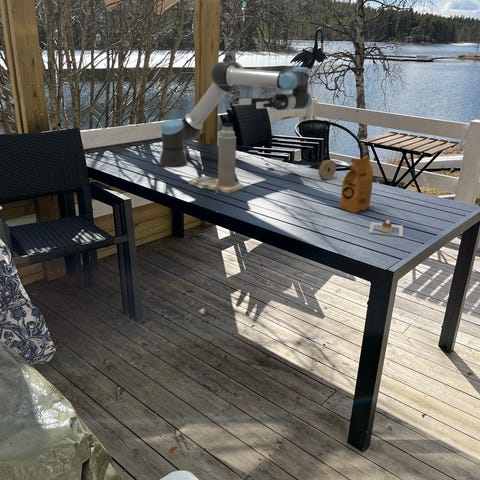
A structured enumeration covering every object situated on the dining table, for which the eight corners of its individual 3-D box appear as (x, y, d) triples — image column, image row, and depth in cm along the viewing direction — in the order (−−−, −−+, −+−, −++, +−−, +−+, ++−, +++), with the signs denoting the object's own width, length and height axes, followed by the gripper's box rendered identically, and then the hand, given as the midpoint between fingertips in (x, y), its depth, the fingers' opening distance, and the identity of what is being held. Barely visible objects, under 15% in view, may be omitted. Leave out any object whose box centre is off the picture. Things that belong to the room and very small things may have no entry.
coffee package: (335, 208, 210) (341, 156, 201) (353, 202, 217) (359, 153, 209) (354, 214, 203) (360, 161, 194) (372, 208, 210) (379, 157, 202)
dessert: (370, 224, 193) (372, 212, 192) (402, 228, 190) (404, 216, 188) (368, 235, 183) (370, 222, 181) (402, 239, 180) (404, 226, 178)
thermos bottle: (222, 180, 238) (223, 121, 227) (237, 183, 235) (239, 123, 224) (215, 184, 231) (215, 124, 220) (230, 187, 228) (231, 125, 217)
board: (188, 183, 238) (188, 180, 238) (204, 178, 248) (204, 175, 247) (228, 193, 226) (228, 189, 225) (243, 187, 235) (243, 183, 234)
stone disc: (330, 176, 258) (332, 157, 254) (335, 178, 255) (337, 159, 252) (316, 179, 252) (318, 160, 248) (321, 181, 249) (323, 161, 246)
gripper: (300, 113, 230) (264, 115, 219) (267, 106, 249) (232, 108, 238) (301, 96, 227) (264, 98, 216) (268, 91, 246) (233, 92, 235)
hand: (247, 103), depth 227 cm, fingers open, 13 cm apart
